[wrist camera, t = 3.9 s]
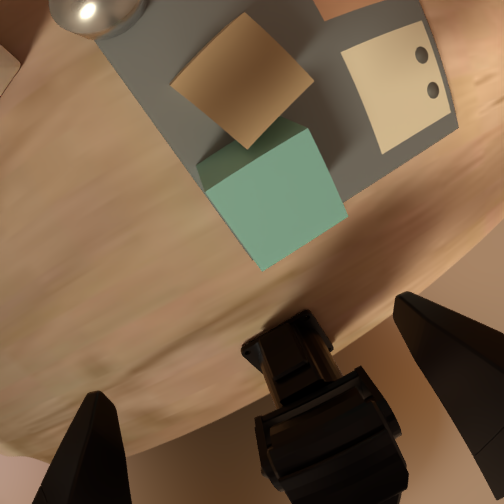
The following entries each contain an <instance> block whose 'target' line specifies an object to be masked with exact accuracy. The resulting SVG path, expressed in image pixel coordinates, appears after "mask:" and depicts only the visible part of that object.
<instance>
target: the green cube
mask: <svg viewBox="0 0 504 504" xmlns="http://www.w3.org/2000/svg"><path fill="white" fill-rule="evenodd" d="M196 168H197V171H198V174H199V177H200V180H201V182H202V185H203V188H204V191H205V193H206V194H207V196H208V197H209V199H210V200H211V201H212V203H213V204H214V206H215V207H216V208H217V210H218V211H219V212H220V214H221V215H222V217H223V218H224V219H225V221H226V222H227V224H228V225H229V226H230V228H231V229H232V230H233V232H234V233H235V235H236V236H237V237H238V239H239V240H240V242H241V243H242V244H243V246H244V247H245V248H246V250H247V251H248V253H249V254H250V255H251V257H252V258H253V260H254V261H255V262H256V264H257V265H258V266H259V268H260V269H261V271H264V270H266V269H267V268H269V267H270V266H272V265H274V264H275V263H277V262H278V261H280V260H281V259H283V258H285V257H286V256H288V255H289V254H291V253H293V252H294V251H296V250H297V249H299V248H300V247H302V246H303V245H305V244H307V243H308V242H310V241H311V240H313V239H314V238H316V237H318V236H319V235H321V234H322V233H324V232H325V231H327V230H328V229H330V228H331V227H333V226H335V225H336V224H338V223H339V222H341V221H342V220H344V219H345V218H347V217H348V215H347V212H346V210H345V207H344V205H343V203H342V200H341V198H340V196H339V193H338V191H337V189H336V187H335V184H334V182H333V180H332V178H331V175H330V173H329V171H328V169H327V167H326V164H325V162H324V160H323V158H322V156H321V154H320V152H319V150H318V147H317V145H316V143H315V141H314V139H313V137H312V135H311V133H310V131H309V129H308V128H307V127H305V126H302V125H300V124H298V123H295V122H293V121H291V120H288V119H286V118H283V117H281V116H279V117H278V118H277V119H276V120H275V121H274V122H273V123H272V124H271V125H270V126H269V127H268V128H267V129H266V130H265V131H264V133H263V134H262V135H261V136H260V137H259V138H258V139H257V140H256V141H255V142H254V143H253V144H252V145H251V146H250V147H249V148H248V150H247V149H246V148H245V147H243V146H242V145H241V144H240V143H239V142H238V141H237V140H234V141H233V142H231V143H230V144H228V145H226V146H225V147H223V148H222V149H220V150H219V151H217V152H216V153H214V154H212V155H211V156H209V157H208V158H206V159H205V160H203V161H202V162H200V163H199V164H197V165H196Z"/></svg>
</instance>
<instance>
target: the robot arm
mask: <svg viewBox="0 0 504 504" xmlns="http://www.w3.org/2000/svg"><path fill="white" fill-rule="evenodd" d="M305 316H306V317H305ZM393 319H394V321H395V323H396V325H397V327H398V329H399V331H400V333H401V335H402V337H403V339H404V340H405V343H406V344H407V346H408V348H409V350H410V352H411V354H412V356H413V358H414V360H415V362H416V363H417V365H418V366H419V368H420V369H421V371H422V372H423V374H424V375H425V377H426V378H427V380H428V382H429V383H430V385H431V386H432V388H433V389H434V391H435V393H436V394H437V396H438V397H439V399H440V401H441V402H442V404H443V406H444V407H445V409H446V410H447V412H448V414H449V415H450V417H451V419H452V420H453V422H454V424H455V425H456V427H457V429H458V431H459V432H460V434H461V436H462V437H463V439H464V441H465V443H466V444H467V446H468V448H469V450H470V451H471V453H472V455H473V456H474V459H475V460H476V463H477V464H478V466H479V468H480V470H481V472H482V473H483V475H484V477H485V479H486V481H487V483H488V485H489V487H490V489H491V491H492V493H493V495H494V497H495V498H496V500H499V499H501V498H503V497H504V334H503V333H501V332H499V331H497V330H495V329H493V328H490V327H488V326H486V325H484V324H482V323H480V322H477V321H475V320H473V319H471V318H468V317H466V316H464V315H461V314H460V313H457V312H455V311H453V310H450V309H448V308H446V307H444V306H441V305H439V304H437V303H434V302H432V301H430V300H428V299H425V298H423V297H421V296H419V295H416V294H414V293H412V292H408V291H406V292H403V293H401V294H399V295H397V296H396V298H395V303H394V310H393ZM333 349H334V347H333V345H332V344H331V342H330V341H329V339H328V337H327V336H326V334H325V333H324V331H323V330H322V328H321V327H320V325H319V324H318V322H317V320H316V319H315V317H314V316H313V314H312V313H311V311H310V310H304V311H302V312H301V313H299V314H297V315H296V316H294V317H292V318H291V319H289V320H288V321H286V322H284V323H283V324H281V325H279V326H278V327H276V328H274V329H273V330H271V331H269V332H267V333H266V334H264V335H262V336H261V337H259V338H257V339H255V340H254V341H252V342H250V343H249V344H247V345H245V346H243V347H242V348H241V354H242V356H243V357H244V358H246V359H247V360H248V361H249V362H250V363H251V364H252V365H253V366H254V367H256V368H257V369H258V370H259V371H260V372H261V373H262V374H263V375H264V378H265V380H266V383H267V386H268V389H269V391H270V394H271V397H272V400H273V402H274V405H275V408H276V410H274V411H272V412H269V413H267V414H265V415H259V416H257V417H255V418H254V419H255V425H256V427H255V433H256V439H257V445H258V450H259V456H260V461H261V473H262V475H263V476H264V477H266V478H268V479H270V481H271V483H272V484H273V485H274V487H275V488H276V489H277V490H278V491H280V492H283V491H285V493H286V495H287V496H288V498H289V500H290V501H291V503H292V504H399V502H400V498H401V493H402V491H404V490H406V489H407V487H408V477H409V473H408V471H407V469H406V462H405V460H404V458H403V456H402V454H401V451H400V449H399V447H398V445H397V443H396V441H395V439H396V438H398V437H399V436H401V435H402V433H401V429H400V426H399V424H398V422H397V419H396V417H395V415H394V413H393V412H392V410H391V408H390V406H389V405H388V403H387V401H386V400H385V399H384V397H383V396H382V394H381V393H380V391H379V390H378V389H377V387H376V386H375V385H374V383H373V382H372V380H371V379H370V378H369V376H368V375H367V373H366V372H365V370H364V369H363V368H362V366H359V367H357V368H355V369H354V371H352V372H350V373H349V374H347V375H345V376H343V375H342V373H341V371H340V370H339V368H338V366H337V364H336V362H335V361H334V359H333V357H332V355H331V353H330V352H331V351H332V350H333ZM32 504H132V501H131V494H130V488H129V481H128V473H127V465H126V457H125V451H124V446H123V441H122V436H121V431H120V426H119V421H118V416H117V410H116V408H115V406H114V404H113V403H112V402H111V401H110V400H109V399H108V398H107V397H106V396H105V395H104V393H103V392H101V391H93V392H89V393H88V394H87V395H86V397H85V398H84V400H83V402H82V404H81V406H80V408H79V409H78V411H77V413H76V415H75V417H74V419H73V421H72V423H71V425H70V426H69V428H68V430H67V432H66V434H65V436H64V438H63V440H62V442H61V444H60V446H59V448H58V450H57V452H56V454H55V456H54V458H53V460H52V462H51V464H50V466H49V468H48V470H47V473H46V475H45V477H44V479H43V481H42V483H41V486H40V487H39V489H38V491H37V494H36V496H35V498H34V500H33V502H32Z"/></svg>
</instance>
